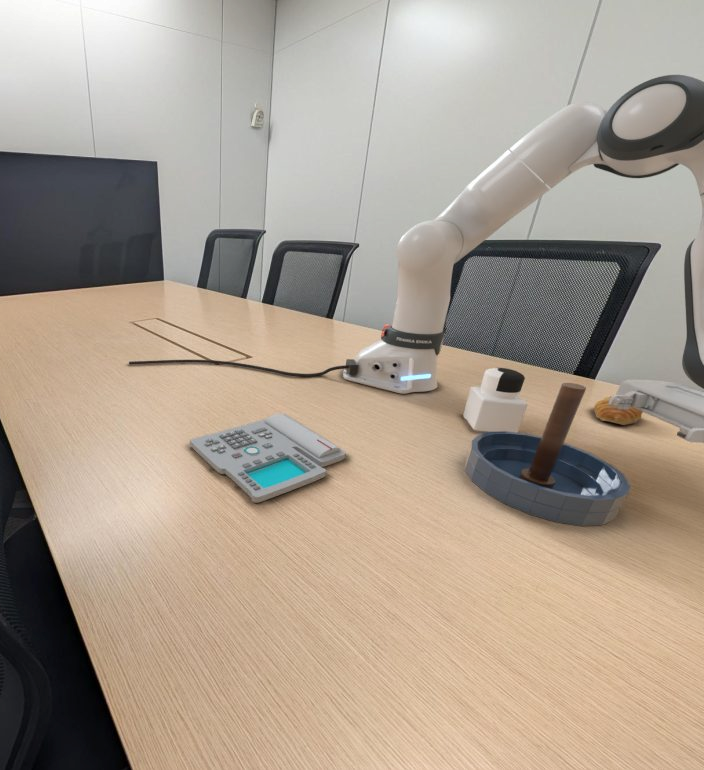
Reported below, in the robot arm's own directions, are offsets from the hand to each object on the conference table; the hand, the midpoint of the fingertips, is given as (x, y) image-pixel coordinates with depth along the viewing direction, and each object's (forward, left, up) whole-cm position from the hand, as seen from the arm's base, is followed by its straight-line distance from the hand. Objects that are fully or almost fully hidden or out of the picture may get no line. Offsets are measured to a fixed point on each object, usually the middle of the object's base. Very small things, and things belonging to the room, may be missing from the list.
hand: (646, 416), depth 52 cm
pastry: (+7, +33, -13) cm, 36 cm away
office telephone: (-48, -19, -13) cm, 53 cm away
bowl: (-10, -6, -13) cm, 17 cm away
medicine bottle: (-15, +14, -13) cm, 24 cm away
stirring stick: (-10, -6, -12) cm, 16 cm away
